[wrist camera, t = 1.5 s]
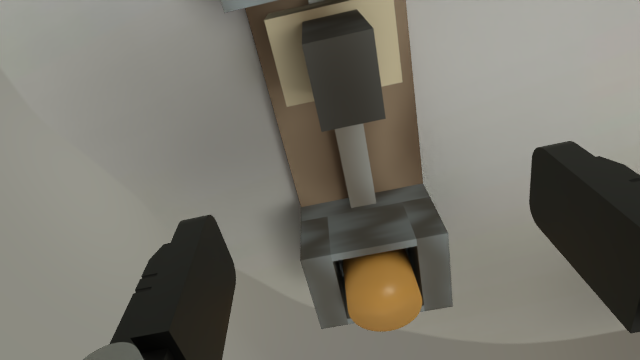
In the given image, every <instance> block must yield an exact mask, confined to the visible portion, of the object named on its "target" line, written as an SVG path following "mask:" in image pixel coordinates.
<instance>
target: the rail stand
mask: <svg viewBox="0 0 640 360" xmlns="http://www.w3.org/2000/svg"><path fill="white" fill-rule="evenodd" d="M321 1H325V0H221V3H222V7H223V10H224V13H226V12H230V11H234V10H239V9H243V8H245V10H246V13H247V17H248V20H249V24H250V28H251V31H252V35H253V38H254V42H255V45H256V49H257V52H258V56H259V59H260V63H261V67H262V70H263V74H264V77H265V81H266V84H267V88H268V91H269V95H270V99H271V102H272V106H273V109H274V113H275V116H276V120H277V123H278V127H279V131H280V134H281V138H282V141H283V145H284V148H285V152H286V155H287V159H288V162H289V166H290V170H291V173H292V177H293V180H294V184H295V187H296V191H297V194H298V198H299V202H300V205H301V256H300V261H301V264H302V267H303V270H304V274H305V277H306V280H307V283H308V287H309V290H310V293H311V296H312V300H313V303H314V306H315V309H316V313H317V315H318V319H319V322H320V325H321V329H324V328H330V327H335V326H341V325H347V324H352V323H355V322H353V320H352V319H351V318H350V316H349V313H348V307H347V298H346V290H345V282H344V274H343V259H349V258H354V257H359V256H365V255H370V254H376V253H381V252H387V251H392V250H397V249H403V248H404V249H405V250H406V252H407V254H408V257H409V260H410V263H411V266H412V269H413V272H414V275H415V278H416V281H417V284H418V287H419V290H420V293H421V296H422V307H421V310H420V312H423V311H429V310H435V309H440V308H446V307H452V306H453V303H452V287H451V271H450V255H449V240H448V232H447V230H446V228H445V226H444V224H443V222H442V220H441V218H440V216H439V214H438V212H437V210H436V208H435V206H434V204H433V202H432V200H431V198H430V196H429V194H428V192H427V190H426V188H425V186H424V184H423V178H422V168H421V157H420V147H419V136H418V126H417V115H416V105H415V94H414V84H413V73H412V62H411V52H410V41H409V31H408V20H407V10H406V0H394V7H395V16H396V26H397V35H398V44H399V53H400V63H401V72H402V81H403V82H401V83H396V84H392V85H387V86H382V95H383V102H384V109H385V117H386V119H382V120H377V121H372V122H368V123H363V124H358V125H353V126H348V127H343V128H339V129H334V130H329V131H324V132H321V128H320V123H319V119H318V114H317V110H316V106H315V101H312V102H308V103H303V104H298V105H294V106H289V107H287V106H286V102H285V98H284V94H283V90H282V87H281V83H280V79H279V75H278V71H277V68H276V64H275V60H274V56H273V52H272V49H271V45H270V41H269V37H268V33H267V30H266V26H265V22H264V20H265V18H266V16H267V14H269V13H273V12H278V11H282V10H286V9H291V8H295V7H299V6H304V5H308V4H312V3H316V2H321Z"/></svg>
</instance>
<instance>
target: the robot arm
mask: <svg viewBox="0 0 640 360" xmlns="http://www.w3.org/2000/svg"><path fill="white" fill-rule="evenodd" d="M529 204H530V210H531V214H532V217H533V219H534V221H535V223H536V225H537V226H538V227H539V228H540V230H541V231H542V232H543V233H544V234H545V235H546V236H547V238H548V239H549V240H550V241H551V242H552V243H553V245H554V246H555V247H556V248H557V249H558V250H559V251H560V253H561V254H562V255H563V256H564V257H565V258H566V260H567V261H568V262H569V263H570V264H571V265H572V267H573V268H574V269H575V270H576V271H577V272H578V273H579V275H580V276H581V277H582V278H583V279H584V280H585V282H586V283H587V284H588V285H589V286H590V287H591V288H592V290H593V291H594V292H595V293H596V294H597V295H598V297H599V298H600V299H601V300H602V301H603V302H604V304H605V305H606V306H607V307H608V308H609V309H610V310H611V312H612V313H613V314H614V315H615V316H616V317H617V319H618V320H619V321H620V322H621V323H622V324H623V325H624V327H625V328H626V329H627V330H628V331H629V332H630V333H635V332H640V175H639V174H637V173H636V172H634V171H633V170H631V169H630V168H628V167H627V166H625V165H623V164H620V163H617V162H614V161H612V160H609V159H606V158H603V157H600V156H598V157H595V156H593V155H592V154H590V153H589V152H588V151H586V150H585V149H583V148H582V147H580V146H579V145H578V144H576V143H574V142H572V141H567V142H562V143H557V144H553V145H548V146H543V147H538V148H536V149H535V150H534V152H533V155H532V167H531V183H530V199H529ZM235 284H236V274H235V267H234V263H233V260H232V258H231V255H230V253H229V251H228V248H227V246H226V243H225V241H224V239H223V236H222V234H221V232H220V229H219V227H218V225H217V222H216V220H215V219H214V217H213V216H212V215H207V216H202V217H197V218H192V219H187V220H183V221H181V222H180V223H179V224H178V227H177V229H176V231H175V234H174V236H173V238H172V241H171V243H168V244H164V245H163V246H162V247H161V248H160V249H159V250H158V251H157V252H156V253H155V254H154V255H153V256H152V258H151V259H150V260H149V262H148V264H147V266H146V268H145V270H144V272H143V274H142V279H140V281H139V283H138V285H137V287H136V289H135V291H136V293H134V294H133V296H132V298H131V300H130V302H129V304H128V306H127V308H126V310H125V313H124V315H123V317H122V319H121V321H120V323H119V325H118V327H117V330H116V332H115V334H114V336H113V338H112V340H111V342H110V344H109V345H107V346H104V347H102V348H100V349H98V350H96V351H94V352H93V353H91V354H90V355H88V356H87V357H86V358H85V359H83V360H222V356H223V351H224V345H225V339H226V333H227V329H228V323H229V317H230V312H231V306H232V300H233V295H234V290H235Z"/></svg>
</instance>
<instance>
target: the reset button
mask: <svg viewBox="0 0 640 360" xmlns="http://www.w3.org/2000/svg"><path fill="white" fill-rule="evenodd" d="M343 274H344V282H345V290H346V298H347V307H348V313H349V316H350V318H351V319H352V320H353V322H355V323H356V324H357V325H358V326H360V327H362V328H364V329H367V330H371V331H380V332H381V331H391V330H395V329H398V328H401V327H403V326H405V325H407V324H408V323H410V322H411V321H412V320H414V319H415V318H416V317H417V315H418V314H419V312H420V310H421V307H422V296H421V293H420V290H419V287H418V284H417V281H416V278H415V275H414V272H413V269H412V266H411V263H410V260H409V257H408V254H407V252H406V250H405V249H404V248H403V249H397V250H392V251H387V252H381V253H376V254H370V255H365V256H359V257H354V258H349V259H343Z"/></svg>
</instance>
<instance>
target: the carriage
mask: <svg viewBox="0 0 640 360" xmlns="http://www.w3.org/2000/svg"><path fill="white" fill-rule="evenodd" d="M264 22H265V26H266V30H267V33H268V37H269V41H270V45H271V49H272V52H273V56H274V60H275V64H276V68H277V71H278V75H279V79H280V83H281V87H282V90H283V94H284V98H285V102H286V106H287V107H289V106H294V105H298V104H303V103H308V102H312V101H315V106H316V110H317V114H318V119H319V123H320V128H321V132H324V131H329V130H334V129H339V128H343V127H348V126H353V125H358V124H363V123H368V122H372V121H377V120H382V119H386V117H385V109H384V102H383V95H382V86H387V85H392V84H396V83H401V82H403V81H402V72H401V63H400V53H399V44H398V35H397V26H396V16H395V7H394V0H325V1H321V2H316V3H312V4H308V5H304V6H299V7H295V8H291V9H286V10H282V11H278V12H273V13H269V14H267V16H266V18H265V20H264Z"/></svg>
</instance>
